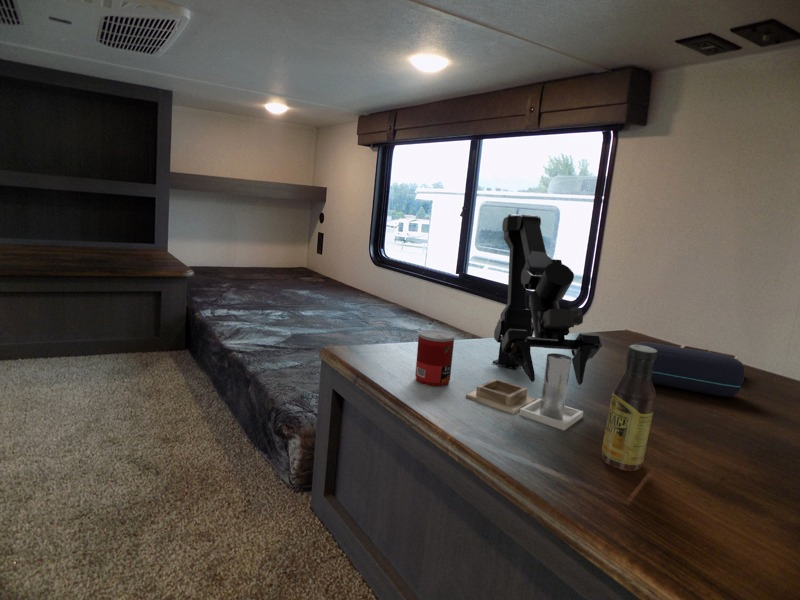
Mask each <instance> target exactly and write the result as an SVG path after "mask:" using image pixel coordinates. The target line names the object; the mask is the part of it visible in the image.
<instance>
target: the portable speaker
mask: <svg viewBox="0 0 800 600" xmlns="http://www.w3.org/2000/svg"><path fill="white" fill-rule="evenodd" d="M631 345H643V346H648V347H651V348H653V349H655V350H657V358H656V360H655V361H654V365H653V370H652V377H651V381H652V384H654V385H659V386H663V387H664V386H665V387H668V388H676V389H681V390H686V391H691V392H696V393H701V394H706V395H712V396H718V397H734V396H736V395H737V394H738V393H739V391H740V390H741V387H742V385H743V383H744V381H745V367H744V365H743V362H742V361H740V360H739V359H738V360H737V359H735V358H733V357H730V356H728V355H725V354H726V353H725V354H718V353H712V352H706V351H700V350H693V349H687V348H681V346H674V345H668V344H663V343H662V344H661V343H657V342H656V343H654V342H649V341H648V342H647V341H641V342H636V343H632V344H631ZM625 361H626V363H625V364H626V365H627V361H628V353H627V355H626V360H625ZM626 365H625V366H626Z"/></svg>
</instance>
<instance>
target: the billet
mask: <svg viewBox="0 0 800 600" xmlns="http://www.w3.org/2000/svg"><path fill="white" fill-rule="evenodd" d="M571 364H572V358H571V356H569V355H566V354H561V353H548V354H547V355H546V362H545V370H544V378H543V384H542V385H543V386H542V390H541V391H542V393H541V406H540V413H539V414H540V415H543V416H546V417H549V418H552V419H555V420H558V421H559V420H562V419H563V414H564V407H565V406H566V400H567V399H566V398H567V391H568V384H569V378H570V371H571Z"/></svg>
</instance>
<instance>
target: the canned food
mask: <svg viewBox="0 0 800 600" xmlns="http://www.w3.org/2000/svg"><path fill="white" fill-rule="evenodd" d="M454 342H455V336H454V334H452V333H451V332H447V331H443V330H438V329H426V330H421V331H419V333H418V340H417V350H416V351H417V352H416V361H415V362H416V364H415V379H416V381H417V382H418V383H419V384H421V385H425V386H429V387H444V386H448V384H449V383H450V380H451V375H452V374H451V373H452V363H453V354H454V344H455V343H454Z"/></svg>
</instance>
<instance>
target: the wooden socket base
mask: <svg viewBox="0 0 800 600" xmlns="http://www.w3.org/2000/svg"><path fill="white" fill-rule="evenodd" d="M465 398H467V399H469V400H471V401H472V400H473V401H475V402H477V403H480V404H483V405H486V406H489V407H491V408H494V409H497V410H500V411H504V412H507V413H510V414H512V415H515V414H516V413H519V412H520V409H521V408H523V407H525V406H526V405H528V404H530V403H532V402H534V401H536V400H537V398H535V397H532V396H529V395H528V388H527V387H523V386H520V385H517V384H514V383H510V382H507V381H504V380H501V379H498V378H494V379H492V380H489V381H487V382H484V383H482V384H479V385H477V386H476V389H475V390H473V391H471V392H469V393H465Z"/></svg>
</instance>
